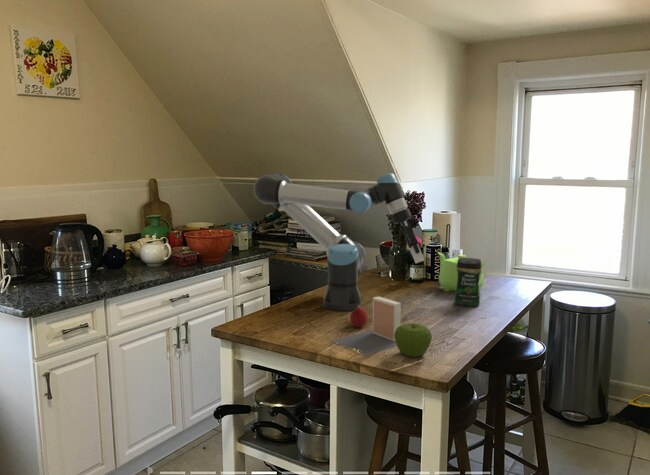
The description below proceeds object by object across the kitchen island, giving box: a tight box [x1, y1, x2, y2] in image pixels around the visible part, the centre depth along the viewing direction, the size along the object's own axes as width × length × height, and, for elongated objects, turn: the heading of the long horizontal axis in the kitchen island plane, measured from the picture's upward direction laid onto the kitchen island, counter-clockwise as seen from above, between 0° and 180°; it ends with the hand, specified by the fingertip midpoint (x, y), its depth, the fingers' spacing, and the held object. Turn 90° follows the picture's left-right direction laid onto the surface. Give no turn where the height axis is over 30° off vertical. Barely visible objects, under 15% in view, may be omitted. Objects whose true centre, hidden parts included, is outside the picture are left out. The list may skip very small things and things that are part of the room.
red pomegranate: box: [349, 305, 368, 328], centre depth 184 cm, size 6×6×8 cm
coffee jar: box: [454, 257, 483, 307], centre depth 213 cm, size 10×8×19 cm
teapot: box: [437, 251, 485, 293], centre depth 236 cm, size 25×22×16 cm
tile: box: [372, 296, 402, 341], centre depth 174 cm, size 3×10×12 cm, turn 39°
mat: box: [331, 328, 398, 357], centre depth 172 cm, size 24×16×1 cm, turn 129°
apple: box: [394, 322, 433, 358], centre depth 159 cm, size 11×10×10 cm
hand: (420, 262), depth 211 cm, fingers open, 13 cm apart
